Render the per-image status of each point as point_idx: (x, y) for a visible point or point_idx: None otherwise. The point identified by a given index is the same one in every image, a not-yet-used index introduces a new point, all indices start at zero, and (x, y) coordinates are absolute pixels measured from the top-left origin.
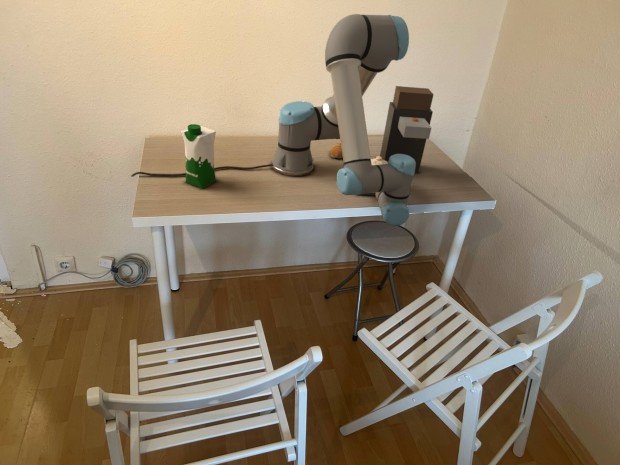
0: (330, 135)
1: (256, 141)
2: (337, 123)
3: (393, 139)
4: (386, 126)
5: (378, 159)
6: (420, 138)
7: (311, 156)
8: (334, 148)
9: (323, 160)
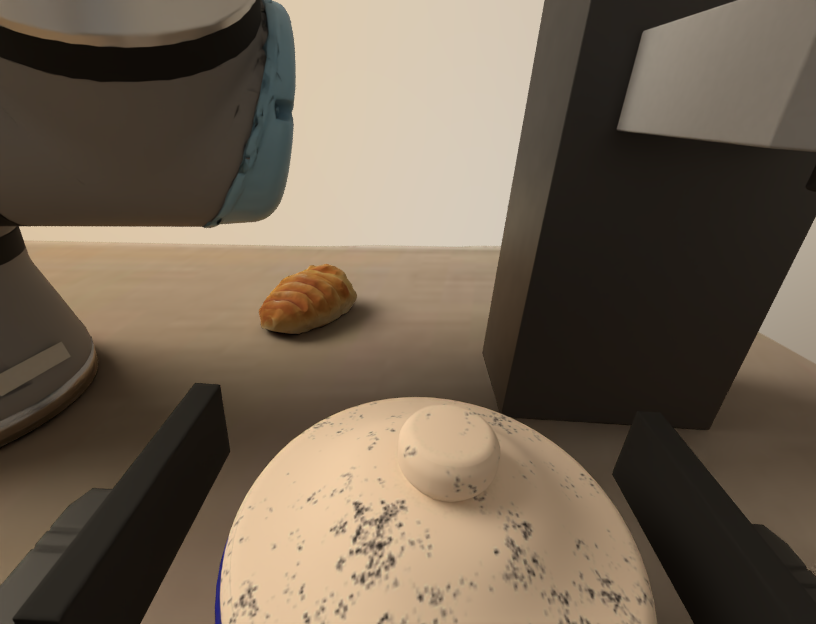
0: (83, 182)
1: None
2: (3, 11)
3: (577, 227)
4: (522, 160)
5: (432, 485)
6: (769, 221)
7: (13, 337)
8: (281, 287)
9: (206, 344)
